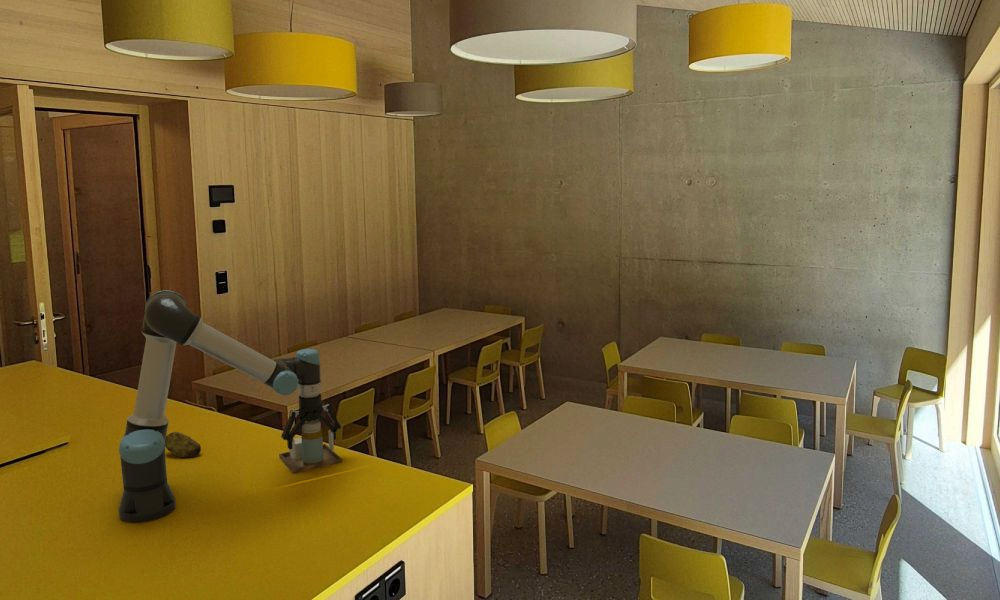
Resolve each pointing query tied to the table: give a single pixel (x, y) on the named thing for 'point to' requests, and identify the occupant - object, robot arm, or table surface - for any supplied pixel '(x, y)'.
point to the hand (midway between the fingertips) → (312, 453)
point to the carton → (297, 449)
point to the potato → (182, 445)
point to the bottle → (312, 442)
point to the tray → (299, 466)
